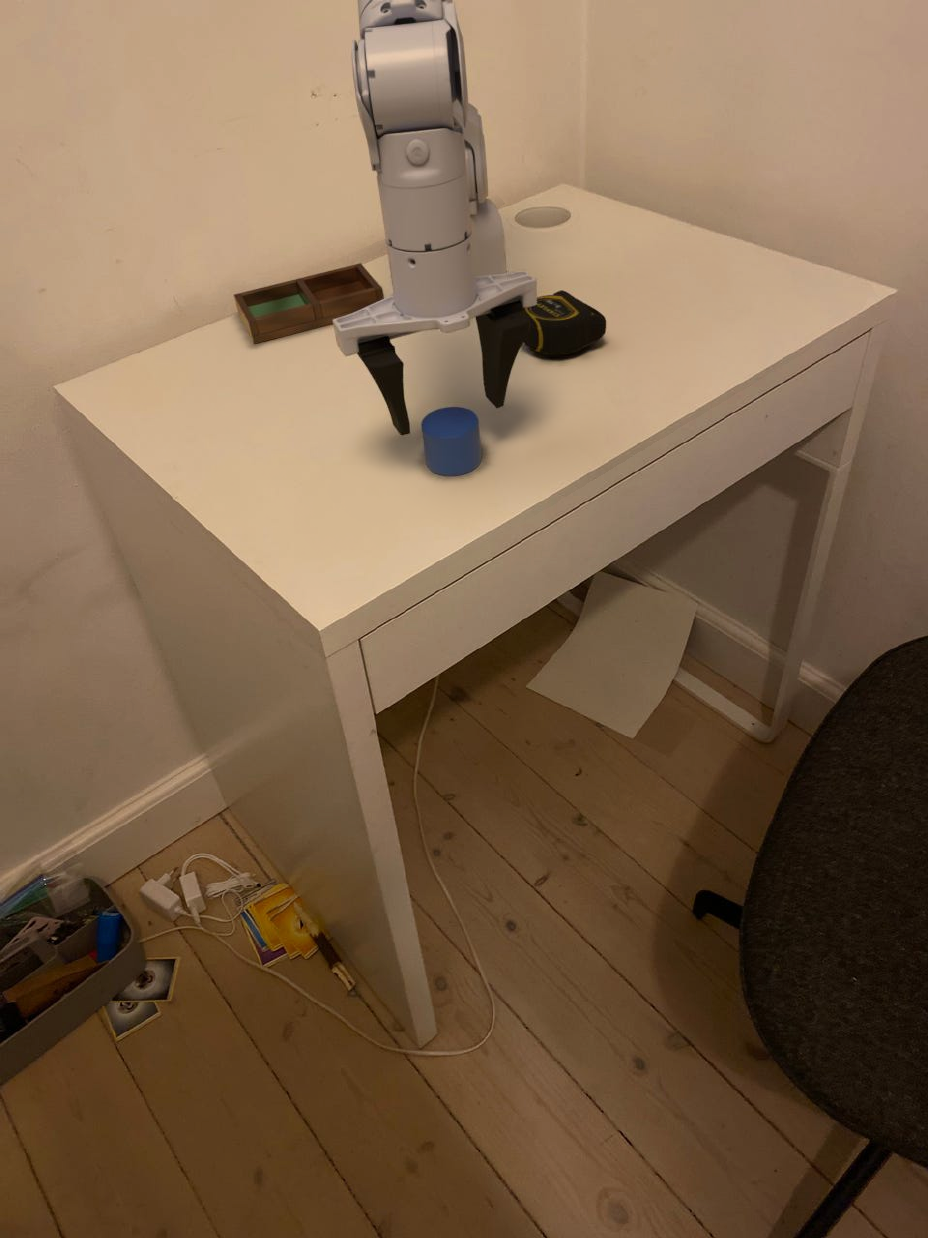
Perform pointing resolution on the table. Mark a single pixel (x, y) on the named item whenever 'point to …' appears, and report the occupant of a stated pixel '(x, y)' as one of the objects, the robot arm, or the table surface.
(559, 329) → the tape measure
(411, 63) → the robot arm
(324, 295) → the holder
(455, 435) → the cylinder
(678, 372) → the table surface
